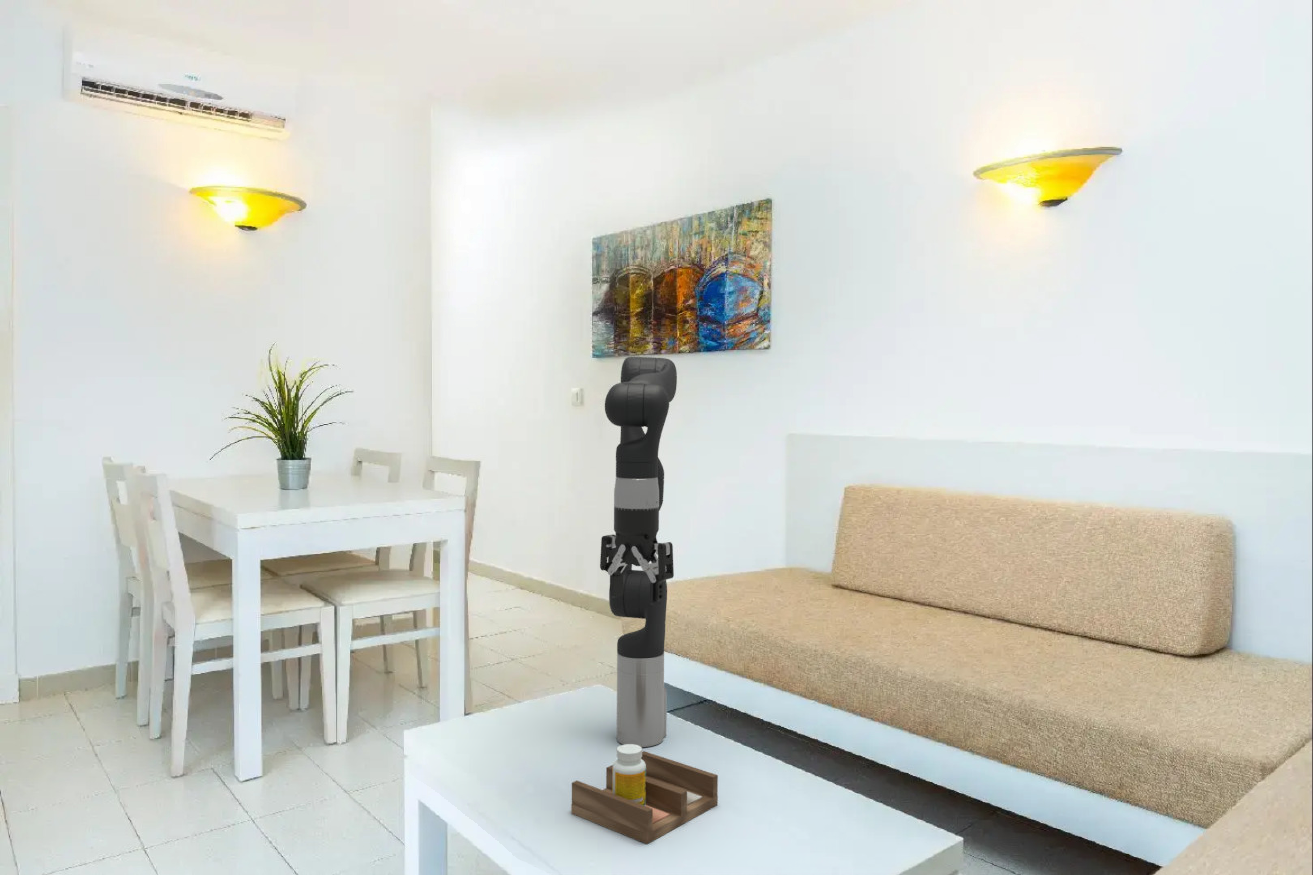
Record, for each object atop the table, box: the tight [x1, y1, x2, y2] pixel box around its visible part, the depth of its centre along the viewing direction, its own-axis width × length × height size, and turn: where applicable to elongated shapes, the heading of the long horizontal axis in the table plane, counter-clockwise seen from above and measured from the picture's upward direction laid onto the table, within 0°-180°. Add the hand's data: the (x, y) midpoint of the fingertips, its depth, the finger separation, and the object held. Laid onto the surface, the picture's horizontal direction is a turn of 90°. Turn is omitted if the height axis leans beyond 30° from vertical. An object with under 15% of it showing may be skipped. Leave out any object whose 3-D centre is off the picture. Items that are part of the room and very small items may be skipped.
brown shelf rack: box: [570, 750, 719, 845], centre depth 154 cm, size 18×16×5 cm
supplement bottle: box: [612, 744, 646, 806], centre depth 150 cm, size 5×5×10 cm
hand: (635, 600), depth 158 cm, fingers open, 8 cm apart
